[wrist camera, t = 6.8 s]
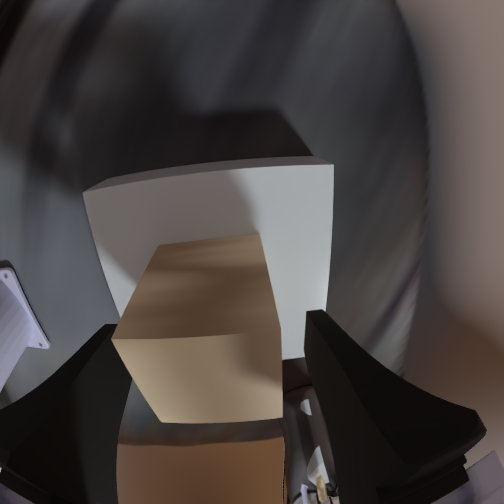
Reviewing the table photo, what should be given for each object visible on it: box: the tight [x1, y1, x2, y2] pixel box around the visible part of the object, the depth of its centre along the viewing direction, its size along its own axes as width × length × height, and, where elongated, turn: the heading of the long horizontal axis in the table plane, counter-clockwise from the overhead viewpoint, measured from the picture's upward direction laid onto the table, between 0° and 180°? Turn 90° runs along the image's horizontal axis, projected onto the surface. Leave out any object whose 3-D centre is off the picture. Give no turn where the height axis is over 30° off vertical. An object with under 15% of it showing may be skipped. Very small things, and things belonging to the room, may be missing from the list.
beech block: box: [111, 234, 283, 423], centre depth 10 cm, size 4×4×6 cm
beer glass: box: [277, 385, 339, 504], centre depth 16 cm, size 7×7×15 cm
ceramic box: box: [82, 156, 334, 360], centre depth 15 cm, size 11×11×4 cm
